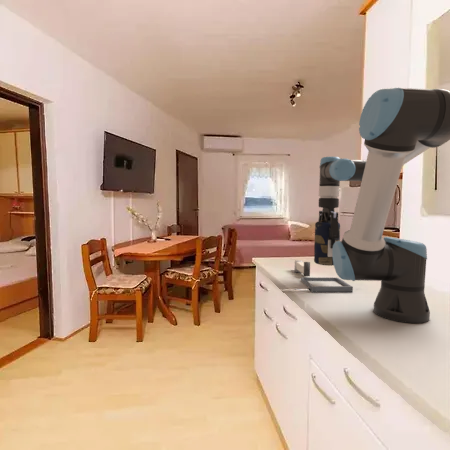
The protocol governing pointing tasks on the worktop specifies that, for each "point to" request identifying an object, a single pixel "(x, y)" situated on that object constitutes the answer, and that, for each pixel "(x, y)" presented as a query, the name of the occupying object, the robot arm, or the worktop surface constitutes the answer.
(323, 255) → the canister
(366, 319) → the worktop surface
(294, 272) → the crank base
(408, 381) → the worktop surface
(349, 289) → the tray
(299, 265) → the crank
